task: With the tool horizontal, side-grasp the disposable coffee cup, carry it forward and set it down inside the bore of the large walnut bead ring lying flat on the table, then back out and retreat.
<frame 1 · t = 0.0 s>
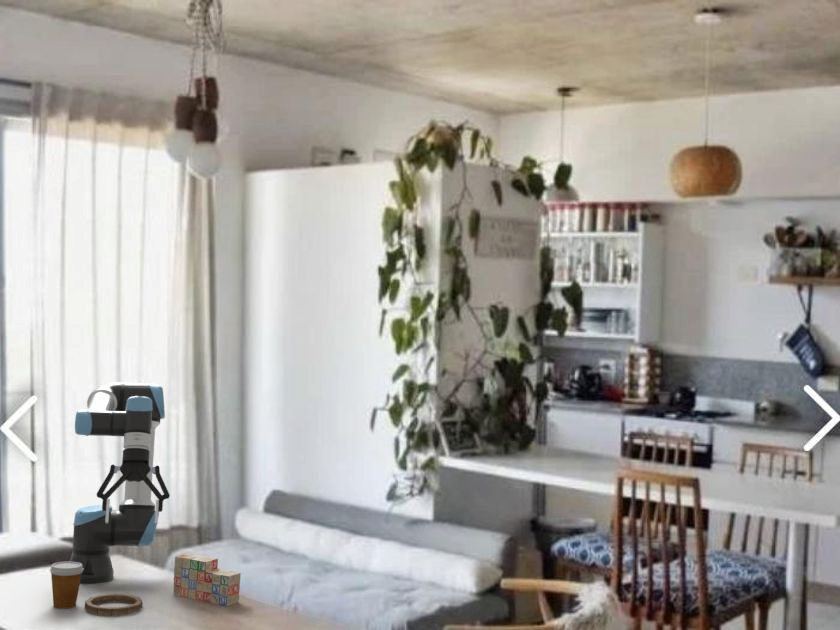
hand: (131, 523, 297), 28 cm above the table, tool tilted 20°, fingers open, 13 cm apart
walnut bead ring: (113, 607, 308), on the table
stack of blocks: (205, 599, 324), on the table
disposable coffee cup: (64, 606, 308), on the table
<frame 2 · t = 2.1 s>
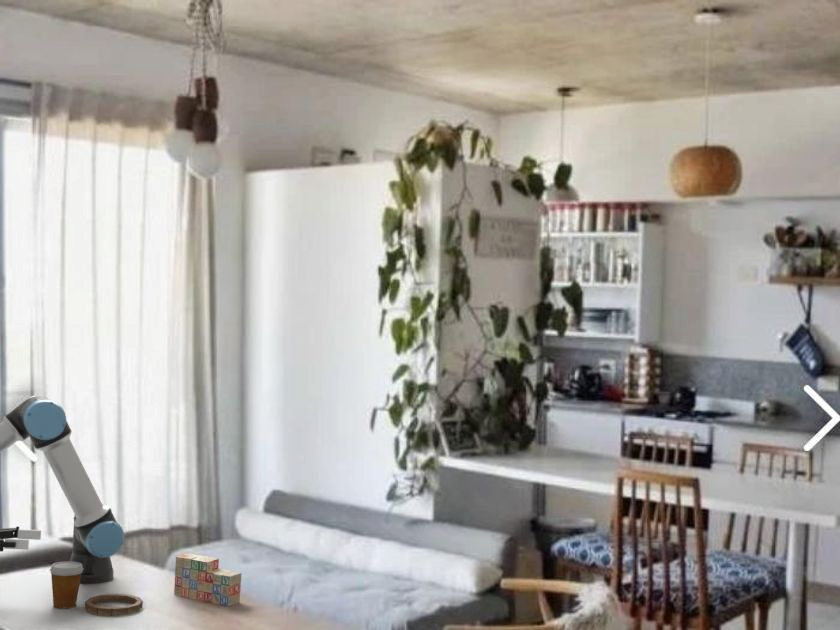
hand: (34, 539, 307), 19 cm above the table, tool horizontal, fingers open, 13 cm apart
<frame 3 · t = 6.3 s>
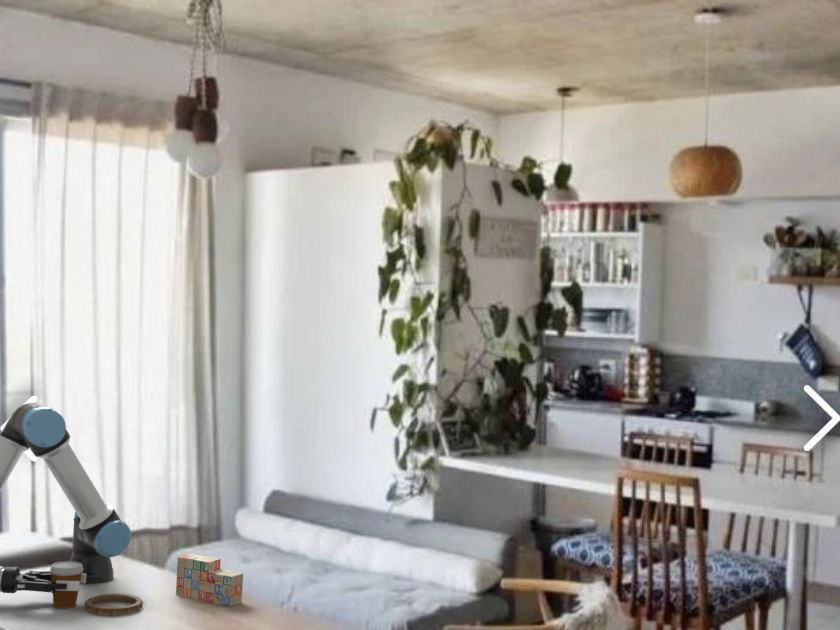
hand: (82, 582, 309), 7 cm above the table, tool horizontal, fingers closed on disposable coffee cup, 8 cm apart
disposable coffee cup: (64, 606, 308), on the table, touching gripper
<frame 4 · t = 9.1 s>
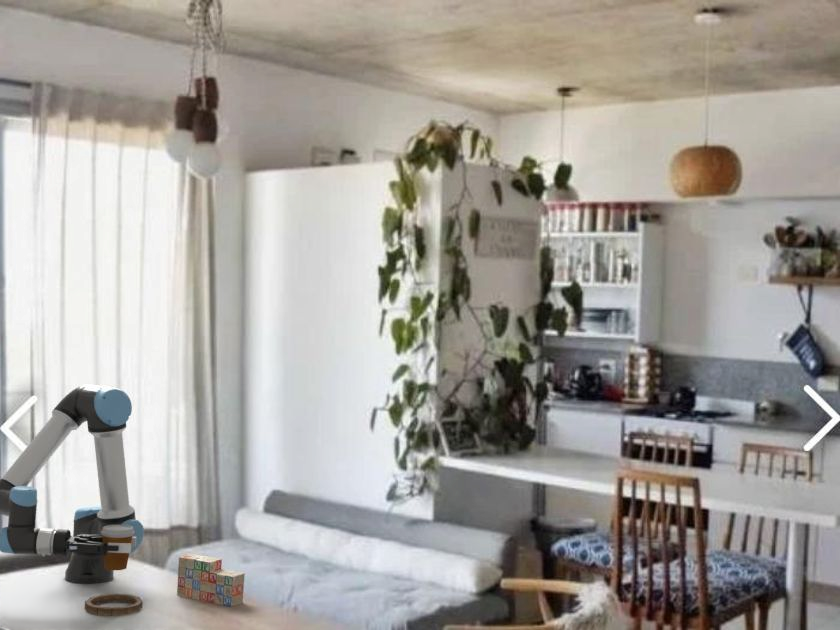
hand: (133, 544, 309), 19 cm above the table, tool horizontal, fingers closed on disposable coffee cup, 8 cm apart
disposable coffee cup: (115, 568, 308), point 12 cm above the table, touching gripper
when the fingers open (8 cm above the table, at t = 11.9 s): disposable coffee cup drops 1 cm, resting in walnut bead ring.
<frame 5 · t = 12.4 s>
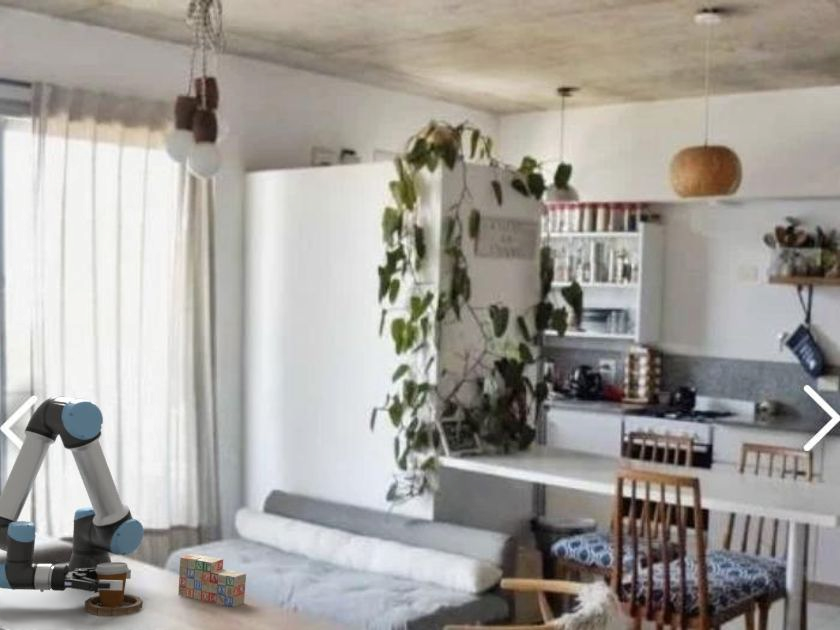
hand: (126, 579, 309), 8 cm above the table, tool horizontal, fingers open, 13 cm apart
disposable coffee cup: (111, 606, 310), resting in walnut bead ring, touching gripper
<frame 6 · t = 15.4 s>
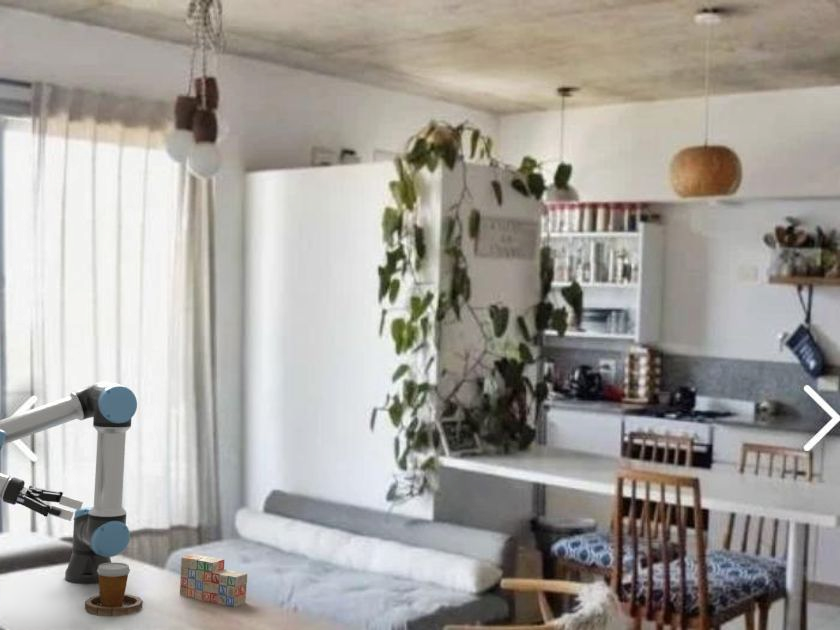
hand: (77, 511, 311), 28 cm above the table, tool tilted 75°, fingers open, 13 cm apart
disposable coffee cup: (111, 606, 310), resting in walnut bead ring
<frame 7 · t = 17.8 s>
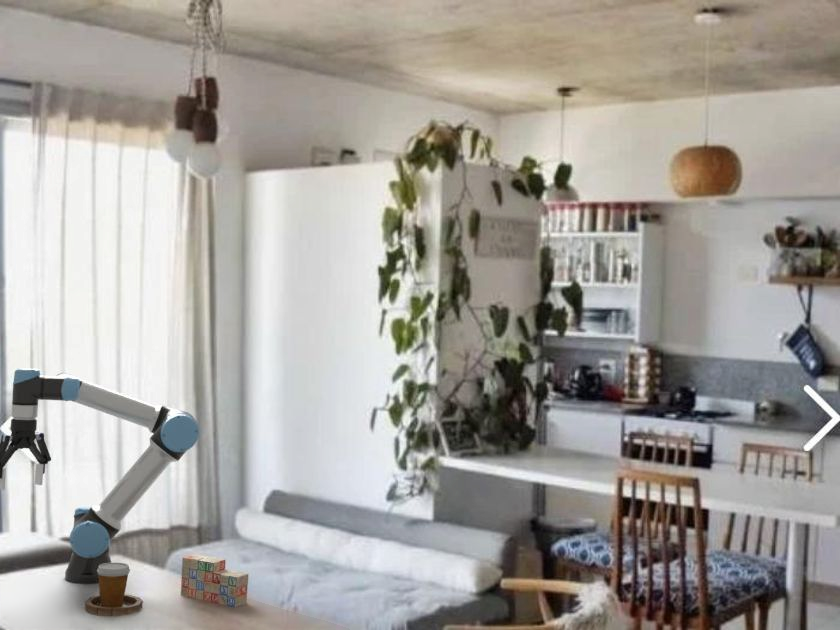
hand: (20, 486, 322), 32 cm above the table, tool pointing down, fingers open, 13 cm apart
at the end: disposable coffee cup 2.1 cm from the walnut bead ring (horizontally); disposable coffee cup tilted 0°; the gripper is holding nothing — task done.
